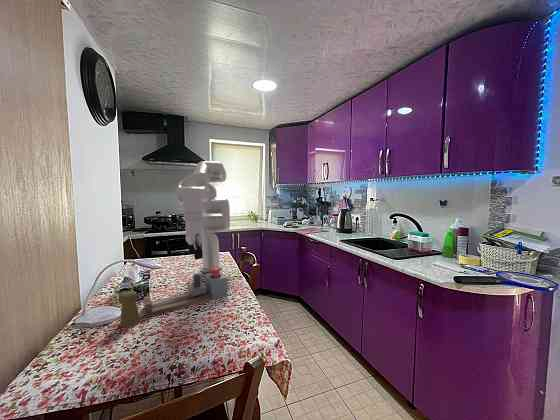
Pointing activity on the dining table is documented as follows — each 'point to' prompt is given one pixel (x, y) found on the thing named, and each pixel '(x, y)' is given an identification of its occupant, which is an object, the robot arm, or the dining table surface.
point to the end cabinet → (216, 285)
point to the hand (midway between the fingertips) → (195, 256)
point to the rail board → (172, 303)
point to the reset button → (215, 272)
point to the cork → (129, 309)
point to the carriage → (196, 286)
